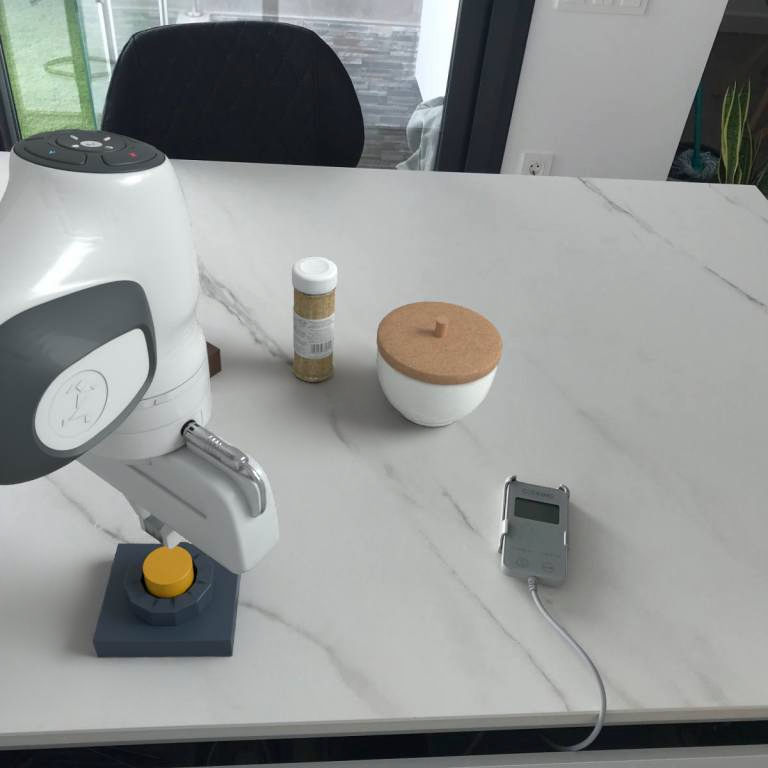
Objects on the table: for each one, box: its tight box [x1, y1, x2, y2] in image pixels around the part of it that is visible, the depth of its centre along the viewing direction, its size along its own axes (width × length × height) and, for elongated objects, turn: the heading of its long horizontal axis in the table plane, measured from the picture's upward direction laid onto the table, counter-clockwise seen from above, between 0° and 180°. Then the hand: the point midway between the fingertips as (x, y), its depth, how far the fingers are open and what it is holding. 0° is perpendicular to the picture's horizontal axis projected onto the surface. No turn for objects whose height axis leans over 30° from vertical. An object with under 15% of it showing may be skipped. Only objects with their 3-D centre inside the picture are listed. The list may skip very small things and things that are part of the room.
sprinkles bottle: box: [291, 256, 338, 383], centre depth 82 cm, size 5×5×14 cm
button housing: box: [92, 541, 242, 658], centre depth 61 cm, size 10×9×4 cm
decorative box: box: [376, 301, 503, 428], centre depth 80 cm, size 13×13×11 cm
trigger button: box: [143, 546, 194, 598], centre depth 59 cm, size 4×4×2 cm
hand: (164, 534), depth 57 cm, fingers closed
